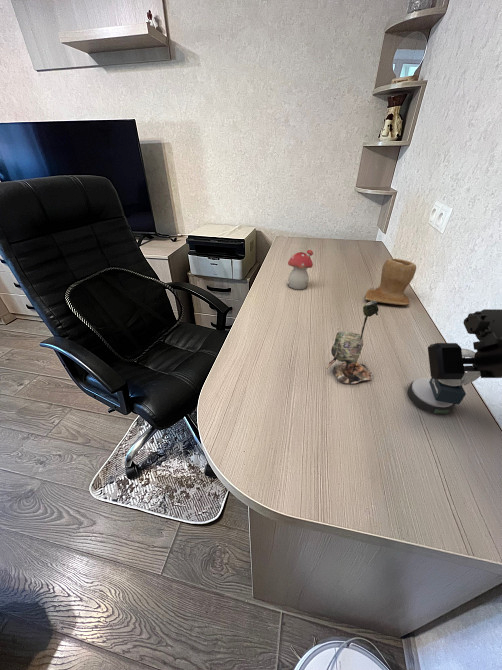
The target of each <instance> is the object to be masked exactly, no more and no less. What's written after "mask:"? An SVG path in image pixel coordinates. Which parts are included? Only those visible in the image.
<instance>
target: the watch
mask: <svg viewBox="0 0 502 670" xmlns="http://www.w3.org/2000/svg"><path fill="white" fill-rule="evenodd" d="M461 350H462V357H463V358H474V356H475V353H476V352H475V350H472V349H468V348H463V347H461ZM479 378H481V375H480V372H465V374H464V376H463V377H462V379H456V380H434V379H433V378H432V377H431V378H430V379H431V380H430V382H429V383H430V386H431V389H432V392H433V395H434V397H435V400H436V401H441V402H446V403H452V404H455V405H458V406H460V405H461V403H462V402H463V400H464V398H465V397H466V395H467V393H466V391H465V389H464V387H463V386H467V385H469V384H471V383H473V382H475V381H476V380H478V379H479Z"/></svg>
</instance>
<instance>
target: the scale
mask: <svg viewBox="0 0 502 670" xmlns="http://www.w3.org/2000/svg"><path fill="white" fill-rule="evenodd" d="M430 380H431V378H430V377H419V378H416V379H414V380H412V382H410V385H409V387H408V389H407V397H408V399H409V400H410V402H411V403H412V404H413V405H415V406H416V407H417V408H418V409H420V410H422V411H423V412H426V413H428V414H433V415H441V416H442V415H447V414H449V413H450V412H451V411H452V409H454V406H455V405H456V404H452V403H446V402H441V401H436V400H435V397H434V395H433V392H432V389H431V386H430V383H429V382H430Z"/></svg>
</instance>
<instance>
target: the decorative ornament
mask: <svg viewBox="0 0 502 670" xmlns="http://www.w3.org/2000/svg"><path fill="white" fill-rule="evenodd" d="M313 255H314V251H313V250H312V249H308V250H306V252H302V251H300V252H296V253H294V254H293V255H292V256H291V257H290V258H289V260H288V262H287V265H288V266H290V267H292V268H293V269H292V270H291V271H290V273H289V274H288V287H289V288H291V289H293V290H305V289H306V287H307V285H308V283H309V280H310V279H309V278H310V276H309V273H308V271H307V270H308V269H312V268H313V266H314V263H313V260H312V258H311V256H313Z"/></svg>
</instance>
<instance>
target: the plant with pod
mask: <svg viewBox="0 0 502 670" xmlns="http://www.w3.org/2000/svg"><path fill="white" fill-rule="evenodd" d="M378 305H379V304H378V302H376V301H375V300H373V301H368V302H366V303H364V305H363V306H362V313H363V315H364V316H365V317H364V320H363V324H362V327H361V328H362V329H361V334H360V333H356V332H352V331H347V330H342V331H338V330H340V328H337V333H336V335H335V339H334V343H333V345H332V346H331V349H330V351H331V352H330V353H331V356H332V357H333V359H332V360H330V362H329V363H328V365H326V368H325V370H329V368H330V367H331V366H332V365H333V364H334V363H335V362H336V361H338V362H341V364H336V365H334V366H333V372H334V375H335V377H336V379H337V381H338V382H340V383H342V384H357V383H360V382H364V381H370V380H371V379H372V375H371V374H372V372H369V369H368V368H367V365H365V364H363V363H358V360H359V358H360V355H362V350H363V347H364V338H363V335H364V330H365V328H366V324H367V320H368V317H369V318H370V317H372V316H374V315H375V316H379V306H378Z"/></svg>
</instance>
